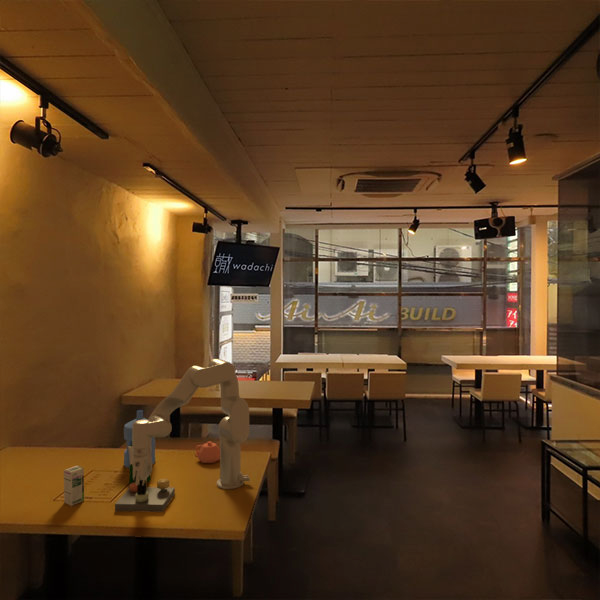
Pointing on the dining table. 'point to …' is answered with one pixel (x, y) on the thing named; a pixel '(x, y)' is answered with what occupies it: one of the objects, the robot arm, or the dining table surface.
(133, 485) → the red rounded lump
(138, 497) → the pale green ball
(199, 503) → the dining table surface
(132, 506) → the plate
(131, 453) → the milk carton
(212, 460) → the sugar bowl
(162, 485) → the tan rounded piece
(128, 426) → the water jug
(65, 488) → the syrup box
